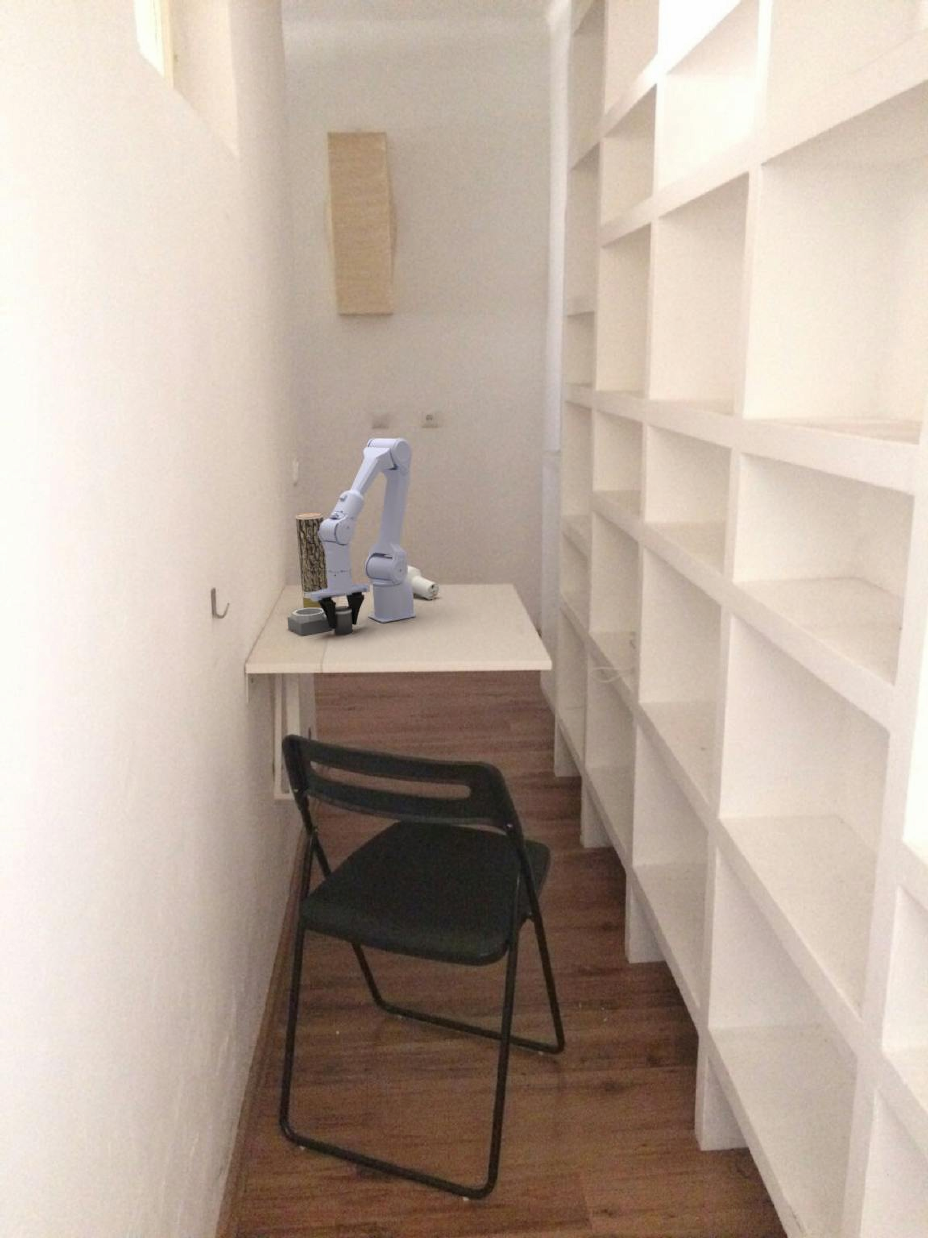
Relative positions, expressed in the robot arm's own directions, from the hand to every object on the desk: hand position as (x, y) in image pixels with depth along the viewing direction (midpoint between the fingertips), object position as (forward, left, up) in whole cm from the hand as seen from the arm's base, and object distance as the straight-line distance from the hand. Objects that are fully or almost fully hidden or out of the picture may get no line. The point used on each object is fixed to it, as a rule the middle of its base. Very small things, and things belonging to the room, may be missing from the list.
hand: (343, 626), depth 229 cm
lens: (0, 0, -2) cm, 2 cm away
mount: (+5, -8, -2) cm, 10 cm away
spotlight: (-32, -20, -2) cm, 38 cm away
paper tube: (-4, -24, -2) cm, 24 cm away
